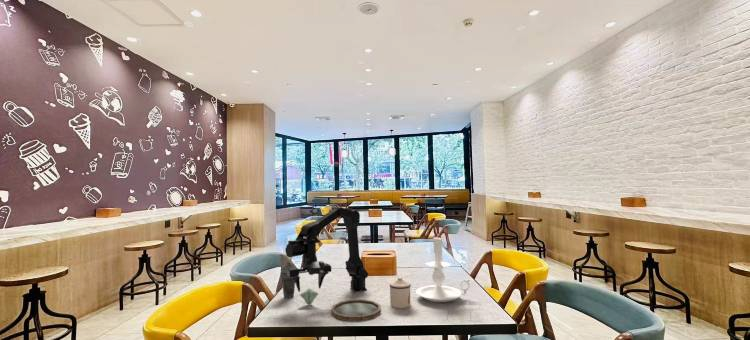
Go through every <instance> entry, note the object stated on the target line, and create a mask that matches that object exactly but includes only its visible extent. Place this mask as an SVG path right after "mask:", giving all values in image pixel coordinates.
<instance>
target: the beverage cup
mask: <svg viewBox="0 0 750 340" xmlns="http://www.w3.org/2000/svg"><path fill="white" fill-rule="evenodd" d="M292 258H293V257H289V259H290V260H289V262H287V263H285V264H284V265H283V266H282V267H281V272H280V273H281V274H280V275H281V279H282V280H281V281H282V294H283V299H293V298H294V297H295V288H296V283H295V281H294V279H292V278H291V277H289V276H288V275H287V269H288V268H293V267H296V265H295V264H294V263H292Z"/></svg>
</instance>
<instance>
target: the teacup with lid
mask: <svg viewBox="0 0 750 340" xmlns="http://www.w3.org/2000/svg"><path fill="white" fill-rule="evenodd" d="M389 291H390V293H389V297H390V298H389V299H390V300H389V301H390V302H389V303H390V306H391V307H392V308H394V309H406V308H409V307H411V283H410V282H409V281H406V280H405V279H403V277H400V276H399V277H397V279H395V280H394V281H391V282H390V283H389Z"/></svg>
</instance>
